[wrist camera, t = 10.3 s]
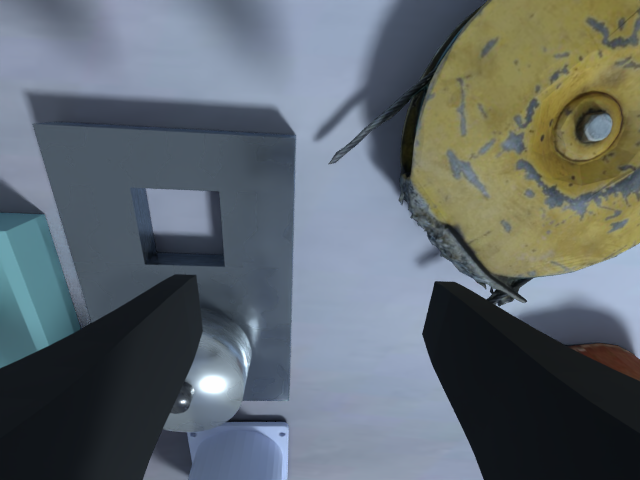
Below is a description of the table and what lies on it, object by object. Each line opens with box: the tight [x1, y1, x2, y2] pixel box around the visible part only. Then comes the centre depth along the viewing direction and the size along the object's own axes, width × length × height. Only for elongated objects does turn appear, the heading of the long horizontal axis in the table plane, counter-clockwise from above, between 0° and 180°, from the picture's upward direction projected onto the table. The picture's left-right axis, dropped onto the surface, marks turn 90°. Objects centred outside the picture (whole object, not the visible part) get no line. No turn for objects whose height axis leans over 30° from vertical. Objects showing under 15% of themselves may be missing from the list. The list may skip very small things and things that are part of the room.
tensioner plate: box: [33, 122, 296, 432], centre depth 17 cm, size 18×12×5 cm, turn 177°
